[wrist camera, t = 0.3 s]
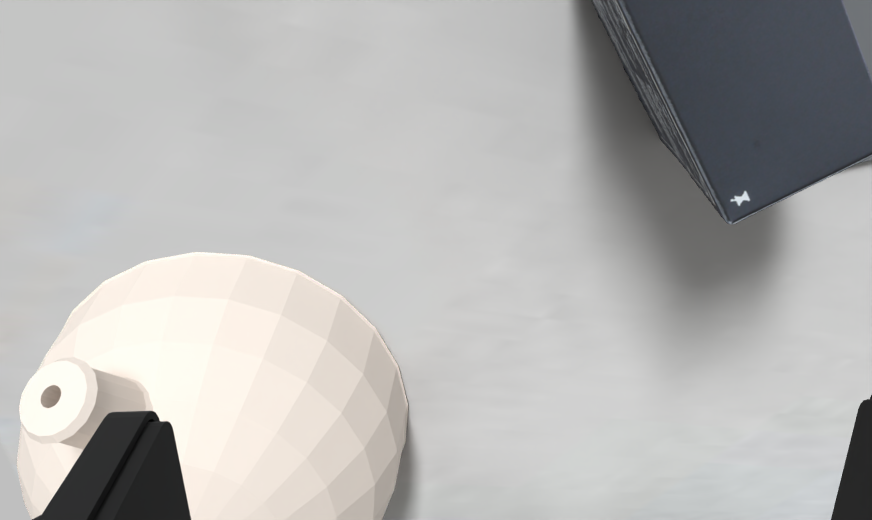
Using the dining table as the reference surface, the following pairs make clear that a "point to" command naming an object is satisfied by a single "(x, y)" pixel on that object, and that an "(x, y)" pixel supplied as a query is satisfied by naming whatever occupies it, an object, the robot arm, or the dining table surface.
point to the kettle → (226, 389)
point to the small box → (748, 91)
